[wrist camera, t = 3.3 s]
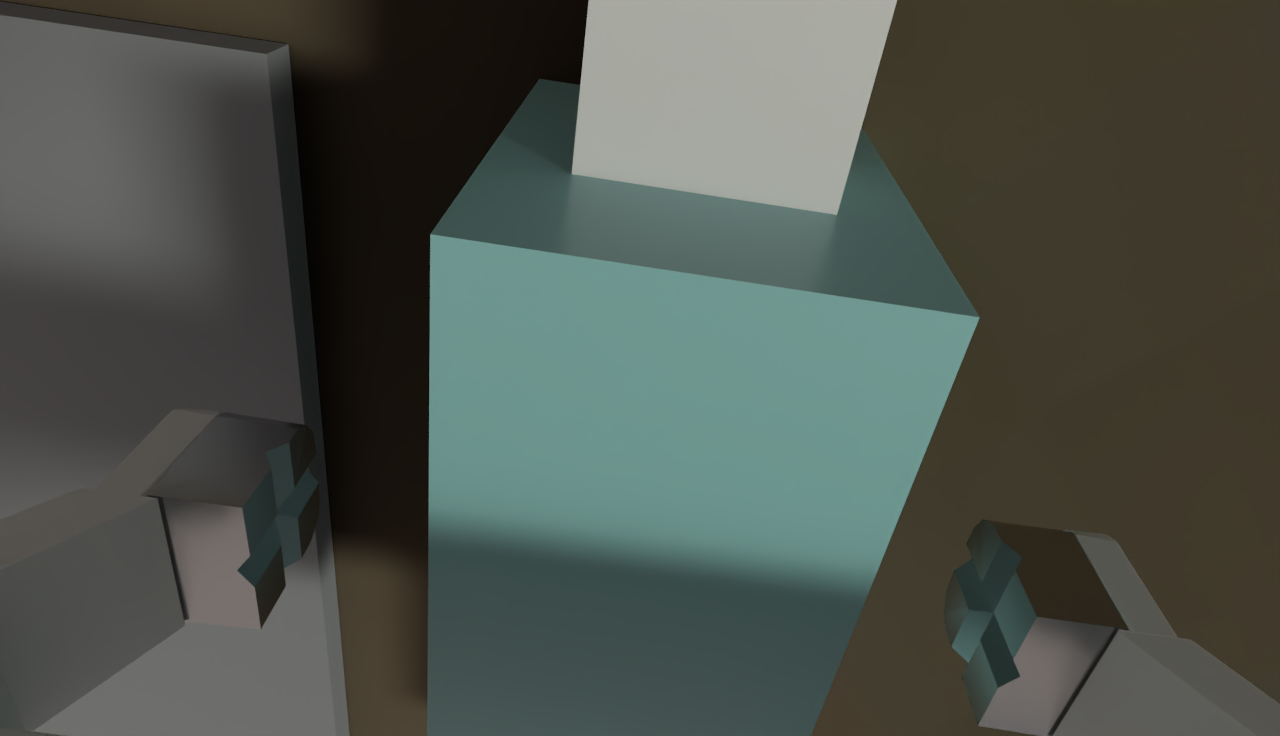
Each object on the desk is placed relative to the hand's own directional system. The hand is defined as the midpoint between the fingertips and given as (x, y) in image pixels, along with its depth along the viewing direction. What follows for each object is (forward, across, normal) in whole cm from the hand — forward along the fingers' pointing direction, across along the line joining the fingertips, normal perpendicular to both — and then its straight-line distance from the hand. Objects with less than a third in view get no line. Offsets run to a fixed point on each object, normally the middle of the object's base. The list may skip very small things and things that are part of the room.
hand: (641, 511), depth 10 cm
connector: (+3, 0, 0) cm, 3 cm away
